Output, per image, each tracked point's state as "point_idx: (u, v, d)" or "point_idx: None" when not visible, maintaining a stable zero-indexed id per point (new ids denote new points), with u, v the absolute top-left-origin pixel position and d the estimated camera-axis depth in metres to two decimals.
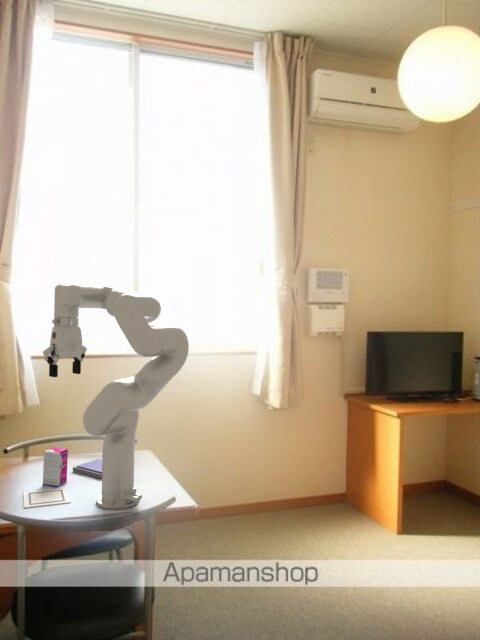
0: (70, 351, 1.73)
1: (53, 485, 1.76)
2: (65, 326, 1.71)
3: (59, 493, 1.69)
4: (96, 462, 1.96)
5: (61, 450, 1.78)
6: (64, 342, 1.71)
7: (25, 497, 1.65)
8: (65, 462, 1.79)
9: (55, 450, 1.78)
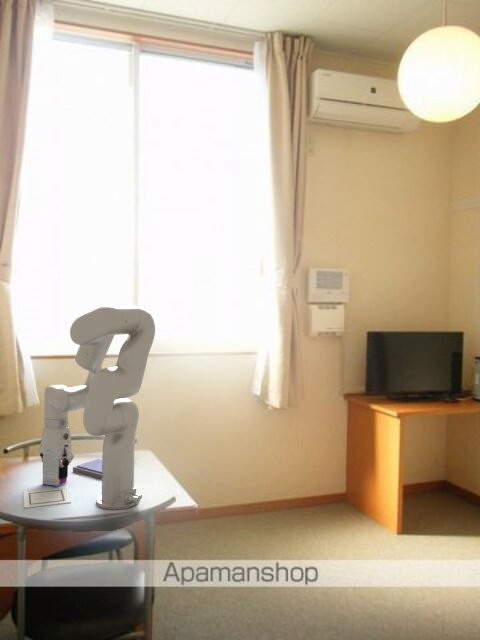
0: None
1: (53, 485, 1.76)
2: (67, 425, 1.79)
3: (59, 493, 1.69)
4: (96, 462, 1.96)
5: None
6: None
7: (25, 497, 1.65)
8: None
9: None
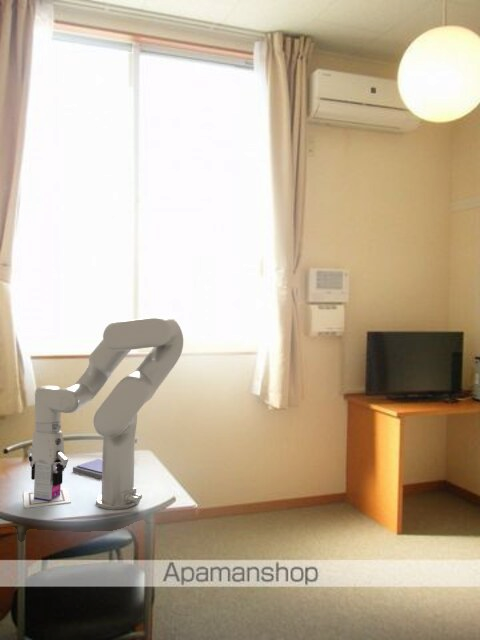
0: None
1: (44, 499, 1.63)
2: None
3: None
4: (96, 462, 1.96)
5: None
6: None
7: (25, 497, 1.65)
8: None
9: None
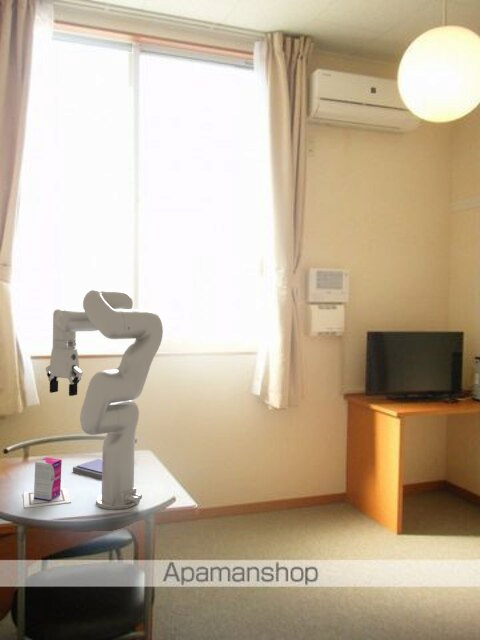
0: None
1: (44, 499, 1.63)
2: None
3: None
4: (96, 462, 1.96)
5: (54, 461, 1.65)
6: None
7: (25, 497, 1.65)
8: (58, 474, 1.66)
9: (47, 461, 1.65)
